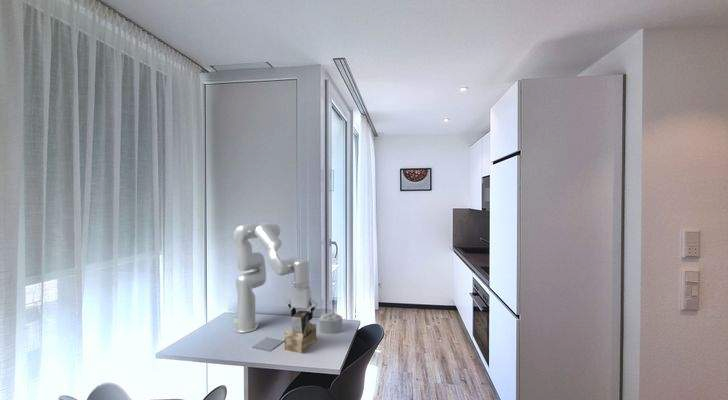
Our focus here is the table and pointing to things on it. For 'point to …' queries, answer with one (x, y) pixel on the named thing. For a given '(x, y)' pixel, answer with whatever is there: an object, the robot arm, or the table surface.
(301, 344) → the carton
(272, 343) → the mat
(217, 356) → the table surface
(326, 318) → the lumpy-topped squat cylinder
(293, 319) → the coffee box
